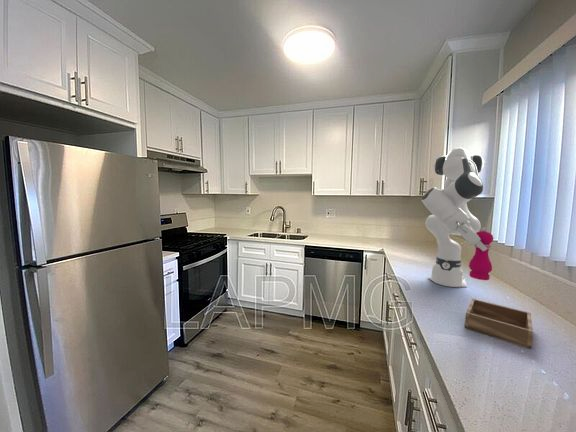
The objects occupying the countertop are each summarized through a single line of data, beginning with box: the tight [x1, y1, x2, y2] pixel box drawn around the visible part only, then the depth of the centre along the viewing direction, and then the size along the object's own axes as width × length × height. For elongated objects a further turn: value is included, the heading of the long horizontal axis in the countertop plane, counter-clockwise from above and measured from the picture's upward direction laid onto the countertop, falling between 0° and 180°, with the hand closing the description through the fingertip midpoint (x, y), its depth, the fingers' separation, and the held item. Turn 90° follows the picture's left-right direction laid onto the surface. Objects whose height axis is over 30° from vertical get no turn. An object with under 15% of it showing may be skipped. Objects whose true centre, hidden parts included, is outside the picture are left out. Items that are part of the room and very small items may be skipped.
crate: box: [464, 298, 534, 350], centre depth 94 cm, size 18×18×6 cm
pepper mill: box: [468, 227, 494, 281], centre depth 97 cm, size 7×7×20 cm
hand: (484, 248), depth 96 cm, fingers closed on pepper mill, 5 cm apart
